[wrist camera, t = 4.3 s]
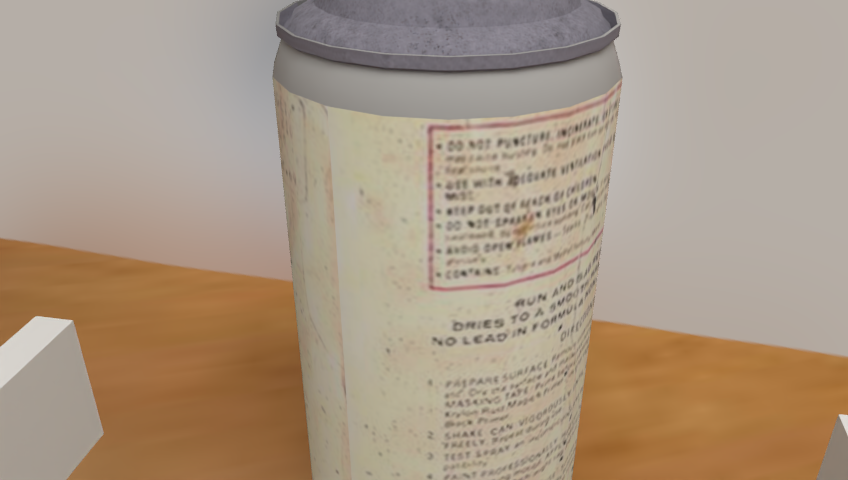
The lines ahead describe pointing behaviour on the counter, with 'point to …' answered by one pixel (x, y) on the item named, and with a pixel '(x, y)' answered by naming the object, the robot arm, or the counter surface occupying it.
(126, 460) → the counter surface
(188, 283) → the counter surface
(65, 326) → the robot arm
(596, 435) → the counter surface
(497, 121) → the aerosol can
